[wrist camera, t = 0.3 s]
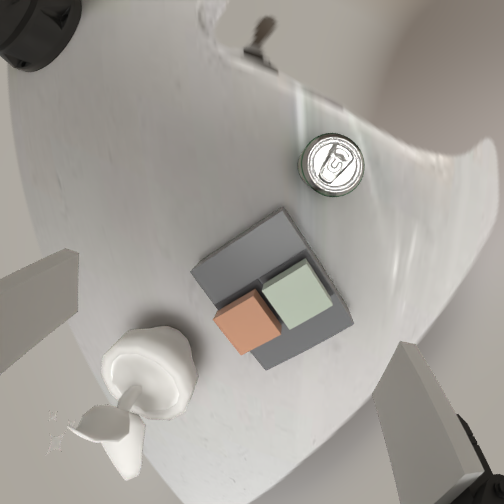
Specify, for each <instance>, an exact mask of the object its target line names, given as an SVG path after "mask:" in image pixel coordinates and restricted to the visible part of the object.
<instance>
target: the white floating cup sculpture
mask: <svg viewBox="0 0 504 504" xmlns="http://www.w3.org/2000/svg"><path fill="white" fill-rule="evenodd" d="M101 375H102V378H103V380H104V382H105V384H106V386H107V388H108V390H109V392H110V394H111V395H112V396H113V397H114V398H115V399H117V400H118V406H117V407H115V406H111V405H108V404H107V405H99V406H94V407H92V408H91V409H90V410H89V411H88V412H86V413H85V414H84V415H83V416H82V419H81V421H80V424H79V426H78V427H77V428H76V429H74V428H73V426H74V422H75V421H73V422H70V421H69V425H67V428H68V429H70V430H71V431H72V432H74V433H75V434H77V435H78V436H80V437H82V438H84V439H87V440H90V441H92V442H101V443H102V445H103V447H104V449H105V451H106V453H107V454H108V456H109V458H110V459H111V461H112V463H113V464H114V466H115V467H116V469H117V470H118V471H119V473H120V474H121V476H122V477H123V478H124V479H125V481H126V480H129V479H131V478H134V477H136V476H138V475H139V472H140V469H141V466H142V451H143V441H144V434H145V427H146V425H145V424H144V422H143V421H142V419H141V418H140V416H142V417H145V418H147V419H153V420H171V419H173V418H175V417H177V416H179V415H181V414H182V413H184V412H185V411H186V408H187V406H188V404H189V401H190V399H191V397H192V394H193V392H194V389H195V386H196V383H197V380H198V377H199V376H198V373H197V370H196V367H195V364H194V361H193V358H192V352H191V348H190V344H189V341H188V339H187V338H186V337H185V336H184V335H183V334H182V333H181V332H180V331H179V330H177V329H174V328H172V327H169V326H159V327H154V328H148V329H133V330H129V331H128V332H127V333H126V334H124V335H123V336H122V337H121V338H120V339H119V340H118V341H117V342H116V343H115V344H114V345H113V346H112V347H111V348H110V349H109V350H108V351H107V352H106V353H105V354H104V356H103V357H102V368H101ZM129 411H132V412H134V413H131V412H129ZM49 412H50V411H49ZM57 412H58V411H57ZM57 412H54V413H52V412H50V418H49V420H51V419H55V420H56V414H57ZM135 413H136V414H135ZM139 415H140V416H139ZM49 420H48V421H49ZM68 429H67V430H68ZM64 434H65V432H64V433H63V434H61V435H59V436H57V437H55V436H52V435H51V434H50V437H51V444H50V447H49V449H48V451H47V453H46V455H47V454H48V453H49V452H50V451H52V450H54V449H58V450H60V451H61V449H60V444H61V440H62V438H63V435H64Z"/></svg>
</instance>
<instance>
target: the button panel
mask: <svg viewBox="0 0 504 504" xmlns="http://www.w3.org/2000/svg"><path fill="white" fill-rule="evenodd" d="M305 258H306V259H307V261H308V263H309V264H310V266H311V267H312V269H313V270H314V272H315V273H316V275H317V277H318V278H319V280H320V281H321V283H322V284H323V286H324V288H325V289H326V291H327V292H328V294H329V295H330V297H331V300H332V304H333V306H331V307H329V308H328V309H326V310H324V311H322V312H321V313H319V314H317V315H315V316H314V317H312V318H310V319H308V320H307V321H305V322H303V323H301V324H299V325H298V326H296V327H294V328H292V329H290V330H289V328H288V327H287V326H286V324H285V323H284V321H283V320H282V319H281V317H280V316H279V314H278V313H277V312H276V310H275V309H274V307H273V306H272V305H271V303H270V302H269V300H268V299H267V298H266V296H265V295H264V293H263V292H262V288H263V284H264V283H266V282H267V281H269V280H271V279H272V278H274V277H275V276H277V275H279V274H280V273H282V272H284V271H285V270H287V269H289V268H290V267H292V266H293V265H295V264H297V263H298V262H300V261H302V260H303V259H305ZM190 272H191V274H192V275H193V277H194V278H195V279H196V281H197V282H198V283H199V285H200V286H201V288H202V289H203V290H204V292H205V293H206V294H207V296H208V297H209V298H210V300H211V301H212V302H213V304H214V305H215V306H216V308H217V309H218V310H220V309H222V308H224V307H225V306H227V305H229V304H230V303H232V302H234V301H235V300H237V299H239V298H241V297H242V296H244V295H246V294H247V293H249V292H251V291H252V290H254V289H256V290H257V291H258V293H259V294H260V296H261V297H262V299H263V300H264V301H265V303H266V304H267V305H268V307H269V308H270V310H271V311H272V312H273V314H274V315H275V317H276V318H277V319H278V321H279V322H280V324H281V325H282V330H281V335H279V336H277V337H276V338H274V339H272V340H270V341H268V342H266V343H264V344H262V345H260V346H258V347H256V348H254V349H253V350H251V351H250V352H251V353H252V354H253V356H254V357H255V358H256V359H257V361H258V362H259V363H260V364H261V365H262V367H263V368H264V369H265V370H268V369H270V368H272V367H274V366H276V365H278V364H280V363H282V362H284V361H286V360H288V359H290V358H292V357H294V356H296V355H298V354H300V353H302V352H304V351H306V350H308V349H310V348H312V347H314V346H315V345H317V344H319V343H321V342H323V341H325V340H327V339H328V338H330V337H332V336H334V335H336V334H337V333H339V332H341V331H343V330H345V329H346V328H348V327H350V326H351V325H353V324H354V322H353V320H352V317H351V314H350V312H349V309H348V307H347V306H346V304H345V302H344V301H343V299H342V298H341V296H340V294H339V293H338V291H337V289H336V288H335V286H334V285H333V283H332V281H331V280H330V278H329V276H328V275H327V273H326V272H325V270H324V269H323V267H322V265H321V264H320V262H319V261H318V259H317V257H316V256H315V254H314V253H313V251H312V250H311V248H310V247H309V245H308V243H307V242H306V240H305V239H304V237H303V236H302V234H301V233H300V231H299V230H298V228H297V227H296V225H295V223H294V222H293V220H292V219H291V217H290V216H289V214H288V213H287V211H286V210H285V208H284V207H281V208H280V209H278V210H277V211H275V212H274V213H272V214H271V215H269V216H268V217H266V218H264V219H263V220H261V221H260V222H258V223H257V224H255V225H254V226H252V227H251V228H249V229H248V230H246V231H245V232H243V233H242V234H240V235H239V236H237V237H236V238H234V239H233V240H231V241H230V242H228V243H227V244H225V245H224V246H222V247H221V248H219V249H218V250H216V251H215V252H213V253H212V254H210V255H209V256H207V257H206V258H204V259H203V260H201V261H200V262H199V263H198V264H197V265H196V266H195V267H194V268H193V269H192V270H191V271H190Z"/></svg>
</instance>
